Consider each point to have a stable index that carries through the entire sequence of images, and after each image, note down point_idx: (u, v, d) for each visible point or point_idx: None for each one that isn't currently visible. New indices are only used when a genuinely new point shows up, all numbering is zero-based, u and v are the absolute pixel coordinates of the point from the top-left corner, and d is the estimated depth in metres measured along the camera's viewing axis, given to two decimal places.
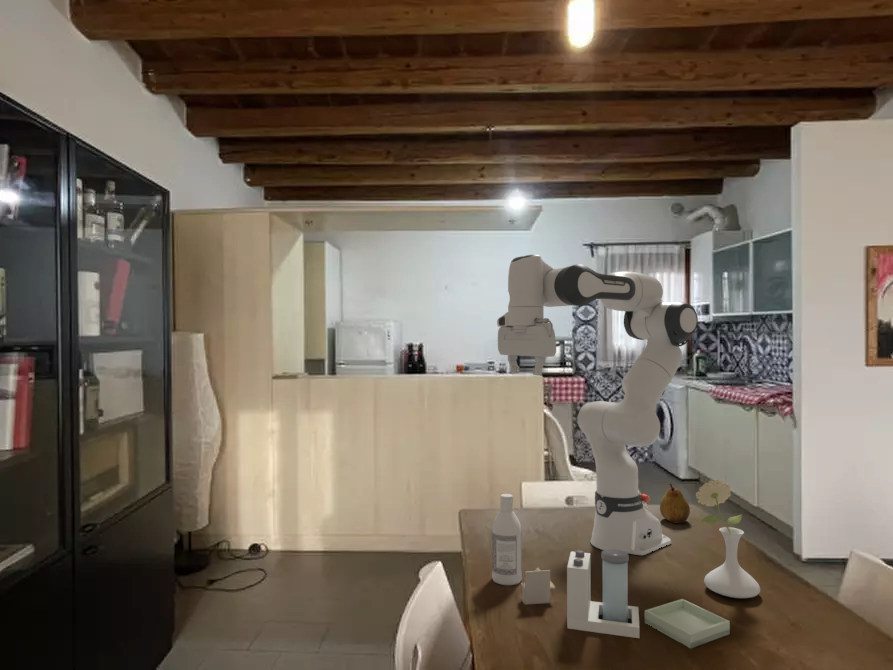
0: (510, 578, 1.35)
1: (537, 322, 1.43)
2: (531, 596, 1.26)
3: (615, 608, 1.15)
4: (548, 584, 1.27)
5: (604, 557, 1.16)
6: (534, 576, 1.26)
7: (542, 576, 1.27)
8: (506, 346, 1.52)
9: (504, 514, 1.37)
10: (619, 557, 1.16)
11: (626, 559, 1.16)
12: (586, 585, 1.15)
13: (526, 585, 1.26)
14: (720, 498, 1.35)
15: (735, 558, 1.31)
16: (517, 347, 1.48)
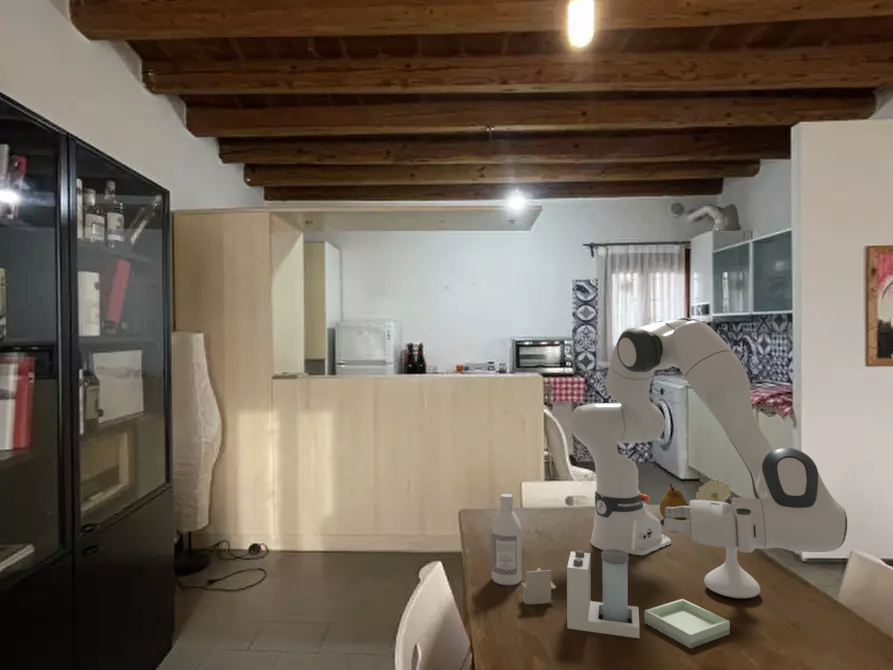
0: (510, 578, 1.35)
1: None
2: (532, 596, 1.26)
3: (615, 608, 1.15)
4: (549, 584, 1.27)
5: (604, 557, 1.16)
6: (535, 577, 1.26)
7: (543, 576, 1.27)
8: None
9: (504, 514, 1.37)
10: (619, 557, 1.16)
11: (626, 559, 1.16)
12: (586, 585, 1.15)
13: (527, 585, 1.26)
14: (720, 498, 1.35)
15: (735, 558, 1.31)
16: None
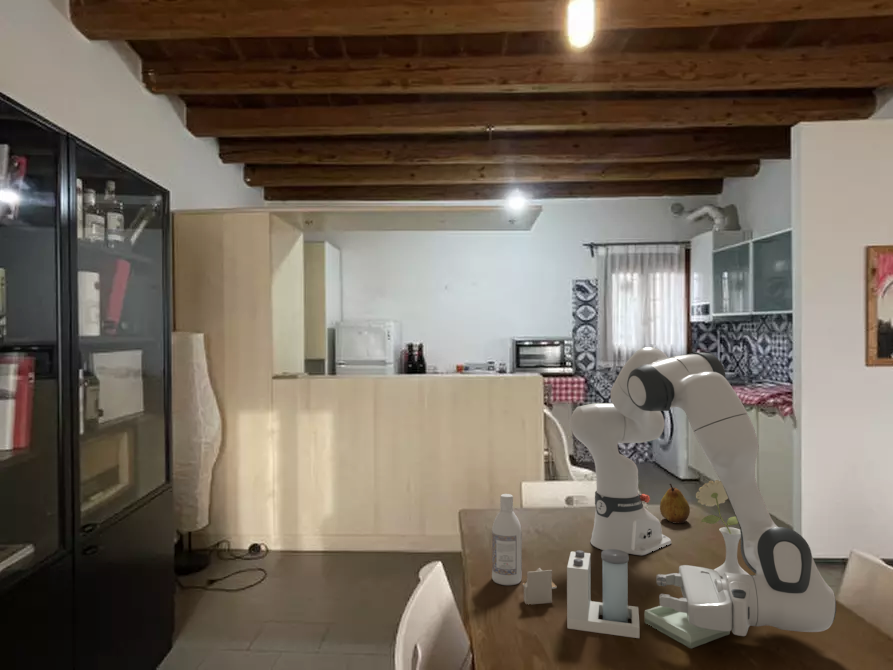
0: (510, 578, 1.35)
1: None
2: (533, 596, 1.26)
3: (615, 608, 1.15)
4: (550, 584, 1.27)
5: (604, 557, 1.16)
6: (536, 577, 1.26)
7: (544, 576, 1.27)
8: None
9: (504, 514, 1.37)
10: (618, 557, 1.16)
11: (626, 559, 1.16)
12: (586, 585, 1.15)
13: (528, 585, 1.26)
14: (720, 498, 1.35)
15: (735, 558, 1.31)
16: None
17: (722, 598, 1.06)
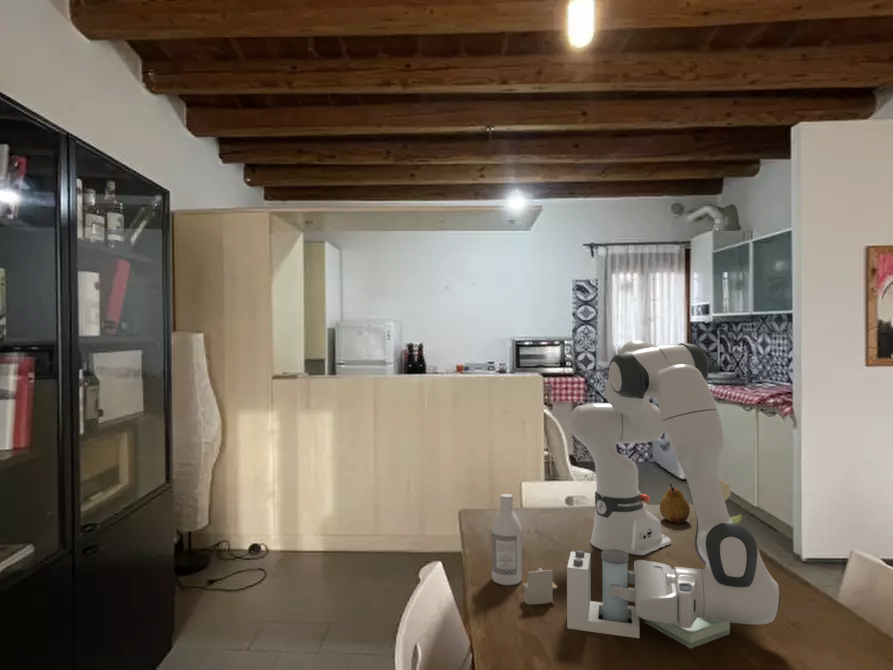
0: (510, 578, 1.35)
1: None
2: (534, 596, 1.26)
3: (615, 608, 1.15)
4: (550, 584, 1.27)
5: (604, 557, 1.16)
6: (537, 577, 1.26)
7: (545, 576, 1.27)
8: None
9: (504, 514, 1.37)
10: (619, 557, 1.16)
11: (626, 559, 1.16)
12: (586, 585, 1.15)
13: (529, 585, 1.26)
14: None
15: None
16: None
17: (669, 591, 1.09)
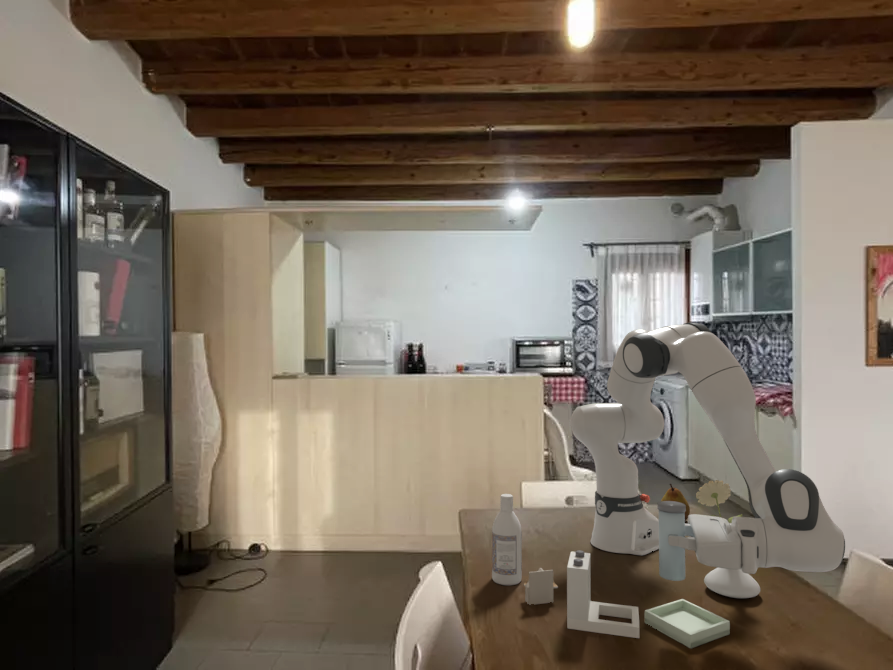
0: (510, 578, 1.35)
1: None
2: (535, 596, 1.26)
3: (673, 558, 1.13)
4: (551, 584, 1.27)
5: (661, 507, 1.15)
6: (538, 577, 1.26)
7: (545, 576, 1.27)
8: None
9: (505, 514, 1.37)
10: (676, 506, 1.14)
11: (684, 509, 1.14)
12: (586, 585, 1.15)
13: (530, 585, 1.26)
14: (720, 498, 1.35)
15: None
16: None
17: (731, 538, 1.07)
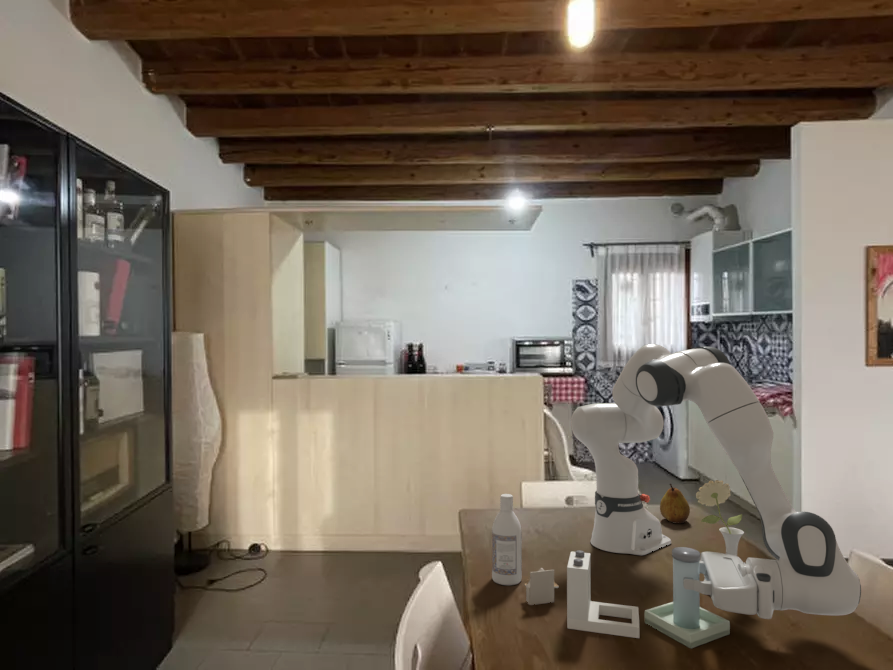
0: (510, 578, 1.35)
1: None
2: (536, 596, 1.26)
3: (687, 607, 1.13)
4: (552, 584, 1.27)
5: (676, 555, 1.14)
6: (539, 577, 1.26)
7: (546, 576, 1.27)
8: None
9: (504, 514, 1.37)
10: (691, 555, 1.14)
11: (699, 557, 1.14)
12: (586, 585, 1.15)
13: (531, 586, 1.26)
14: (720, 498, 1.35)
15: None
16: None
17: (747, 582, 1.07)
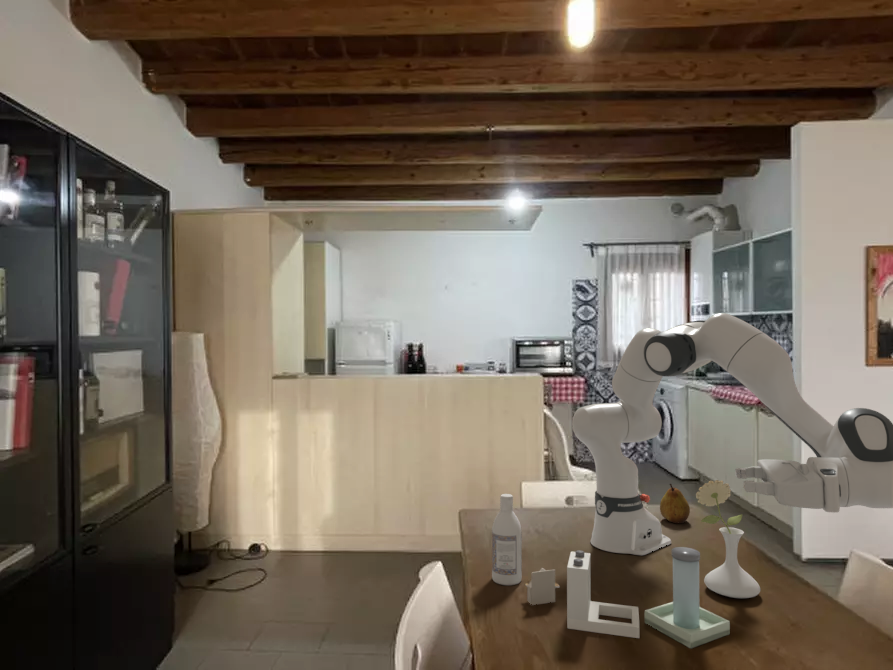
0: (510, 578, 1.35)
1: None
2: (537, 596, 1.26)
3: (687, 606, 1.13)
4: (553, 583, 1.27)
5: (675, 555, 1.15)
6: (540, 577, 1.26)
7: (547, 576, 1.27)
8: None
9: (504, 514, 1.37)
10: (690, 555, 1.14)
11: (698, 557, 1.14)
12: (586, 585, 1.15)
13: (533, 586, 1.26)
14: (720, 498, 1.35)
15: (735, 558, 1.31)
16: None
17: (811, 478, 1.04)
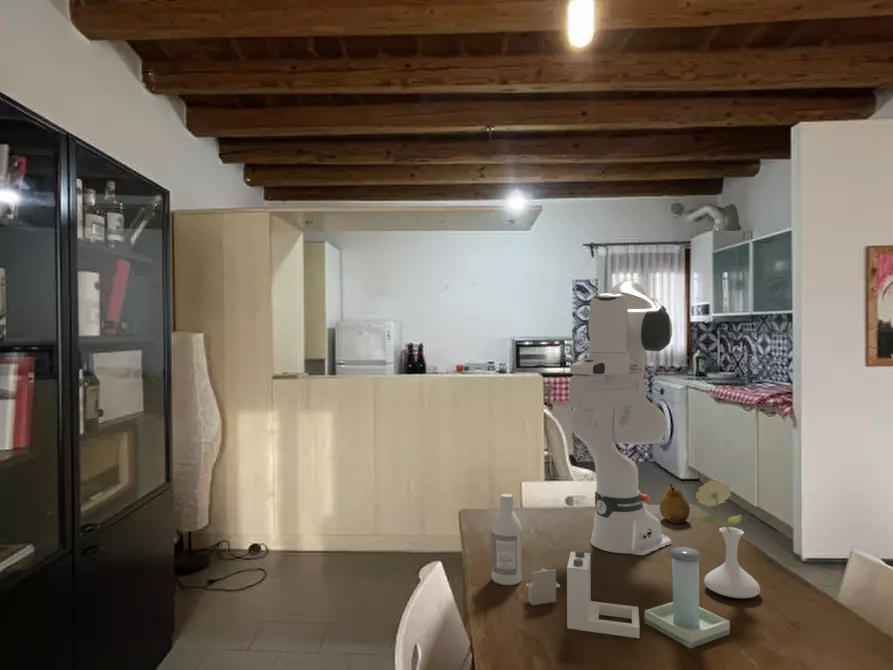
0: (510, 578, 1.35)
1: None
2: (538, 596, 1.26)
3: (687, 606, 1.13)
4: (554, 583, 1.27)
5: (675, 555, 1.15)
6: (541, 577, 1.26)
7: (548, 576, 1.27)
8: (594, 398, 1.27)
9: (505, 514, 1.37)
10: (690, 554, 1.14)
11: (698, 557, 1.14)
12: (586, 585, 1.15)
13: (534, 586, 1.26)
14: (720, 498, 1.35)
15: (735, 558, 1.31)
16: (610, 398, 1.29)
17: None
